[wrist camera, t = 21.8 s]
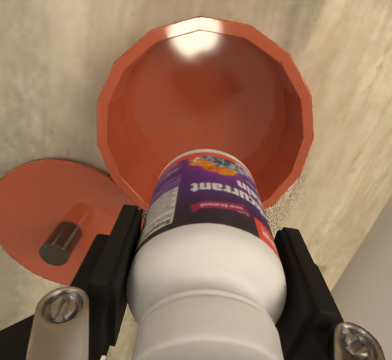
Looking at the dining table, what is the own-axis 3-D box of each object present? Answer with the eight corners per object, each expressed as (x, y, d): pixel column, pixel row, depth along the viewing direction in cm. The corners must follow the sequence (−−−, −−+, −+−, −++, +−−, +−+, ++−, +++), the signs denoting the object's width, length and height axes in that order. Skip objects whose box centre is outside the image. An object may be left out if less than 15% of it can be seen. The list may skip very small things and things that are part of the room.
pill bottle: (275, 181, 15) (369, 378, 7) (215, 244, 17) (228, 456, 9) (191, 124, 14) (172, 281, 5) (137, 201, 16) (62, 401, 7)
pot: (266, 205, 31) (277, 238, 27) (114, 183, 31) (97, 212, 26) (319, 39, 24) (349, 42, 19) (118, 4, 23) (95, -3, 18)
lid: (143, 288, 38) (135, 321, 34) (7, 270, 37) (-19, 302, 33) (154, 170, 30) (146, 194, 25) (-19, 144, 29) (-59, 164, 25)
